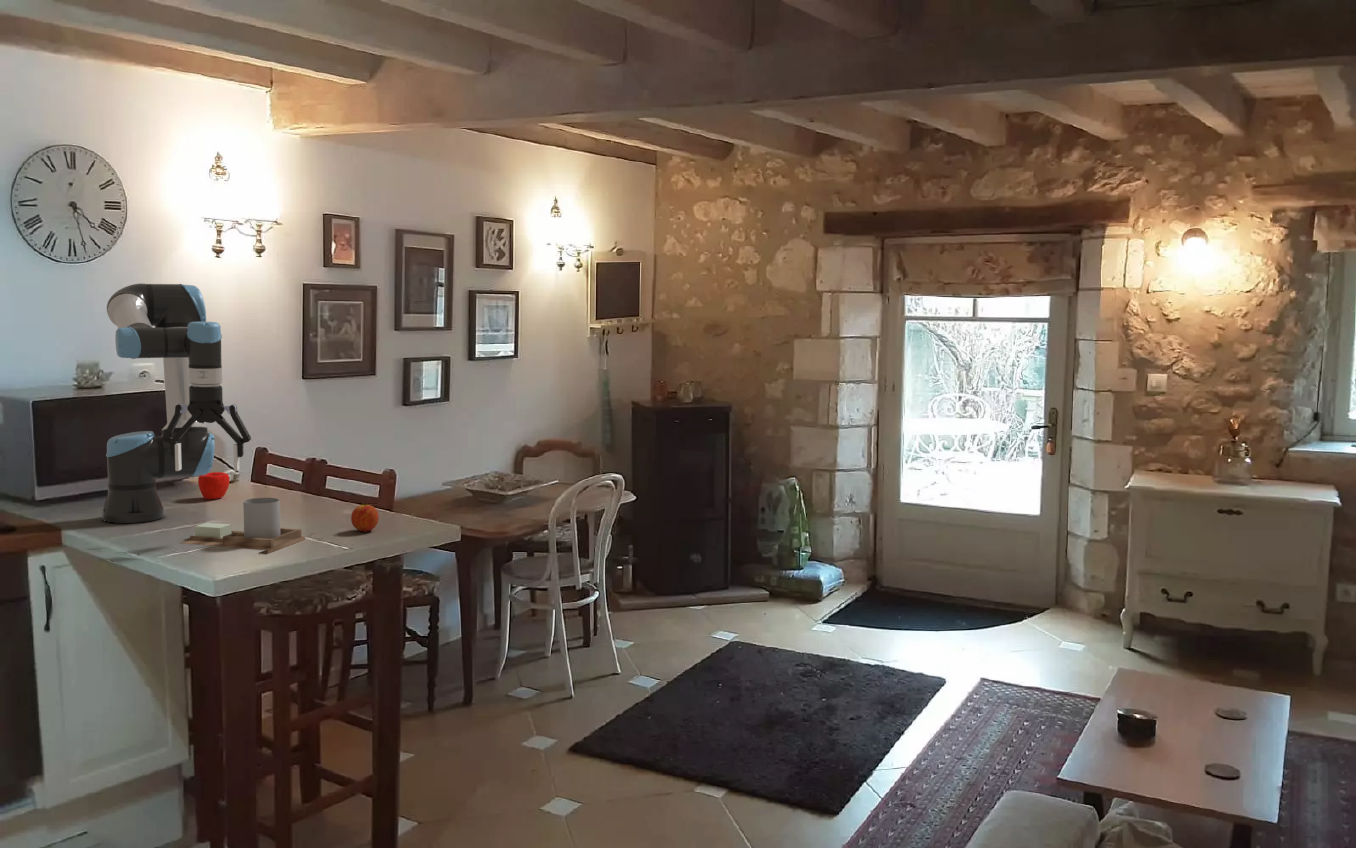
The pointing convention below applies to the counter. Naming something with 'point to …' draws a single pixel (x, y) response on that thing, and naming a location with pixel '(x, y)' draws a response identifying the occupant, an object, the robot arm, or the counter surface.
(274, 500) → the cup
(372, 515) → the fruit
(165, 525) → the counter surface
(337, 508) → the counter surface
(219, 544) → the jig
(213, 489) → the apple
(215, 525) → the pale green block
